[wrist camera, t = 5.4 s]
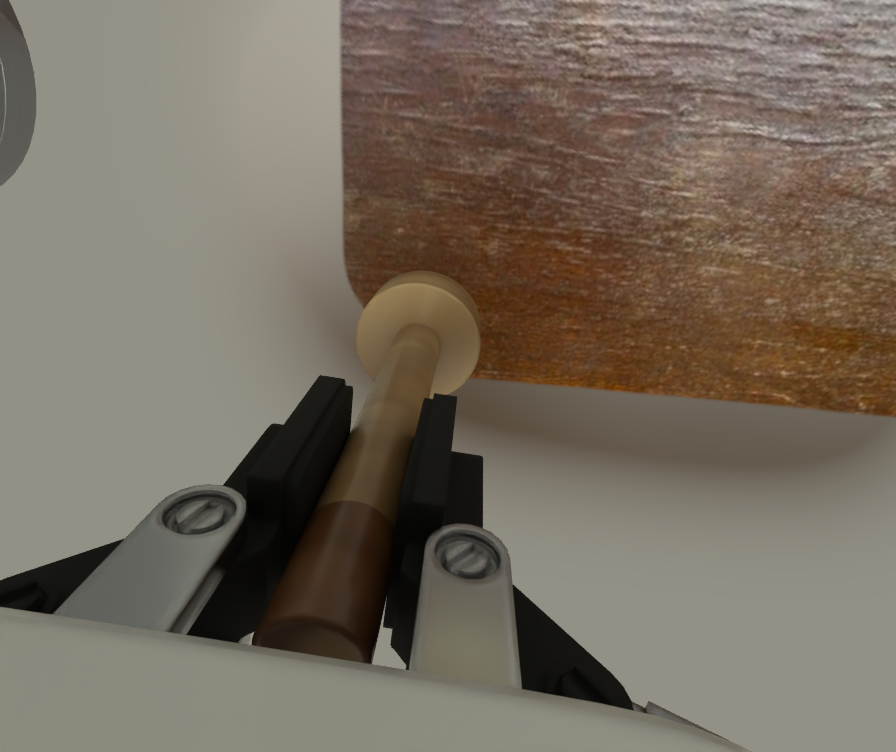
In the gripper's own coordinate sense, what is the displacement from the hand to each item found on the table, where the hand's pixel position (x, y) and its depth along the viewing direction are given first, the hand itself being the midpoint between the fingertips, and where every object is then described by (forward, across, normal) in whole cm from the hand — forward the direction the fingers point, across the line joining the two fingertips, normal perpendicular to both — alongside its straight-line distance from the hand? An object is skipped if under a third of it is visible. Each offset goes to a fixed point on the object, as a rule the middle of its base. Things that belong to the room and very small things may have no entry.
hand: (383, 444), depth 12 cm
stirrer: (+9, 0, 0) cm, 9 cm away
